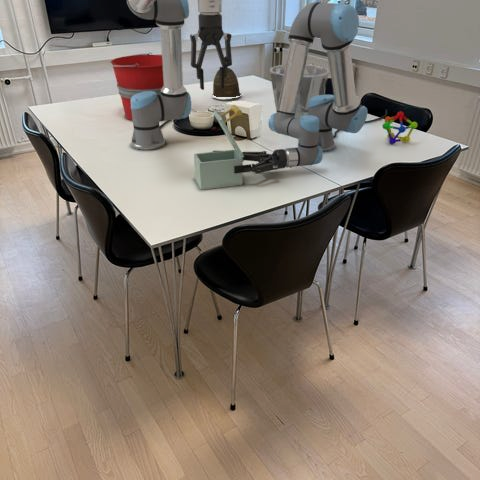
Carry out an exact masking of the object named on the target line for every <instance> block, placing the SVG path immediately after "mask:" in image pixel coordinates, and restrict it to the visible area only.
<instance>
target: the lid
mask: <svg viewBox="0 0 480 480" xmlns="http://www.w3.org/2000/svg"><path fill="white" fill-rule="evenodd" d="M232 111H233V114H232V115H230V116H229V117H228V118H226V119H225V120H224V119H223V117H225V116H227V115H229V114H230V113H231V112H232ZM212 113H213V115H214V117H215V119H216V120H217V122H218V124H219V126H220V128H221V129H222V131H223V133H224V134H225V136H226V138H227V140H228V141H229V143H230V145H231V146H232V148H233V150H235V151H236V152H237V153H238V154H239V155H240V157H241V158H242V157H244V156H243V154H242V152H243V151H242V150H241V149H240V147H239V145H238V143H237V142H236V140H235V138H234V136H233V135H232V132H231V131H230V129H229V128H228V126H227V124H226V123H228V122H229V121H230V120H233V119H235V117H237V116H238V117H240V116H242V115H243V111H242V110H241V109H240V108H239V107H238V106H237V105H236V104H232V105H231V106H230V108H229V109H228V110H226V111H224V112H223V113H222V114H218V112H217V111H216V110H215V111H213V112H212Z"/></svg>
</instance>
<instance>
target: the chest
mask: <svg viewBox="0 0 480 480" xmlns="http://www.w3.org/2000/svg"><path fill="white" fill-rule="evenodd" d="M215 151H216V152H213V151H209V152H197V153H193V162H194V179H195V182H196V184H197V186H198V187H199V190H201V191H203V190H211V189H219V188H227V187H235V186H242V185H243V184H244V183H243V181H244V180H243V174H244V173H236V174H235V173H234V166H240V165H244V161H243V158H241V157H240V155H239V154H238V153H237V152H236V151H235V149H227V150H215Z"/></svg>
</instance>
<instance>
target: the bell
mask: <svg viewBox="0 0 480 480" xmlns="http://www.w3.org/2000/svg"><path fill="white" fill-rule="evenodd" d="M224 58H225V61H226V62H227V60H226V55H224ZM238 79H239V78H238V77H237V75H236V73H235V72H234V70H232V69H231V68H230V67H227V77H226V78H224V88H221V87H220V68H218V70H217V71H216V73H215V75H214V78H213V81H212V83H213V84H212V95H214V96H216V97H236V96H240V95H241V96H242V93H241V92H240V83H239V80H238Z"/></svg>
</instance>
